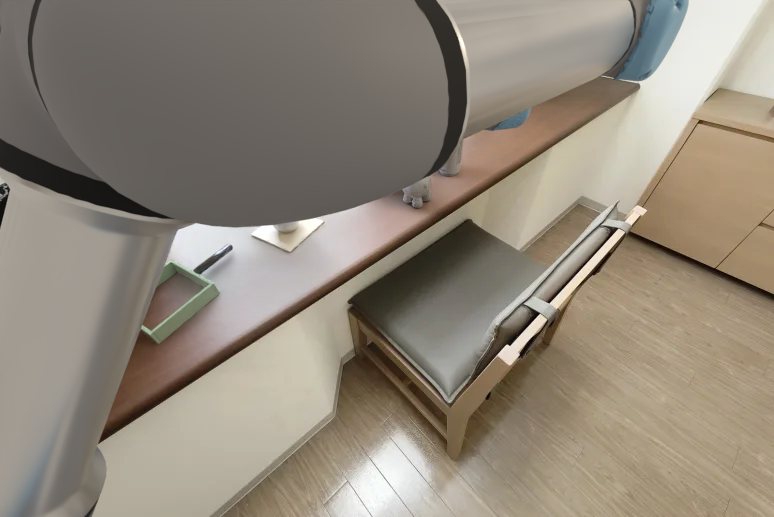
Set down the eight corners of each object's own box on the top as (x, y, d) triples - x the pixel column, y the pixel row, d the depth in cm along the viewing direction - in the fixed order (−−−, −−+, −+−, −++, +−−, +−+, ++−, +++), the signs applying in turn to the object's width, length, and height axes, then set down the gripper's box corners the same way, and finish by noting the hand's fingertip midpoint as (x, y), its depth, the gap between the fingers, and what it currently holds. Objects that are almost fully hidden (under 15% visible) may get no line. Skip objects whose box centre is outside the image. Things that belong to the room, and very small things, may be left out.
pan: (158, 344, 59) (149, 335, 57) (116, 313, 64) (107, 304, 62) (256, 262, 72) (251, 252, 70) (215, 242, 77) (209, 232, 75)
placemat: (290, 252, 74) (289, 251, 74) (251, 235, 79) (250, 234, 78) (324, 222, 81) (323, 221, 81) (286, 208, 86) (286, 206, 86)
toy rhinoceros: (402, 182, 92) (402, 153, 86) (435, 200, 86) (438, 170, 80) (383, 193, 89) (381, 164, 83) (416, 212, 83) (417, 182, 77)
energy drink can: (439, 165, 98) (444, 113, 88) (460, 167, 97) (467, 114, 86) (436, 175, 94) (440, 122, 84) (457, 178, 93) (465, 124, 82)
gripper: (421, 172, 43) (254, 176, 43) (413, 98, 60) (295, 102, 61) (424, 112, 37) (234, 117, 38) (414, 50, 55) (284, 54, 56)
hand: (271, 108), depth 49 cm, fingers open, 13 cm apart
